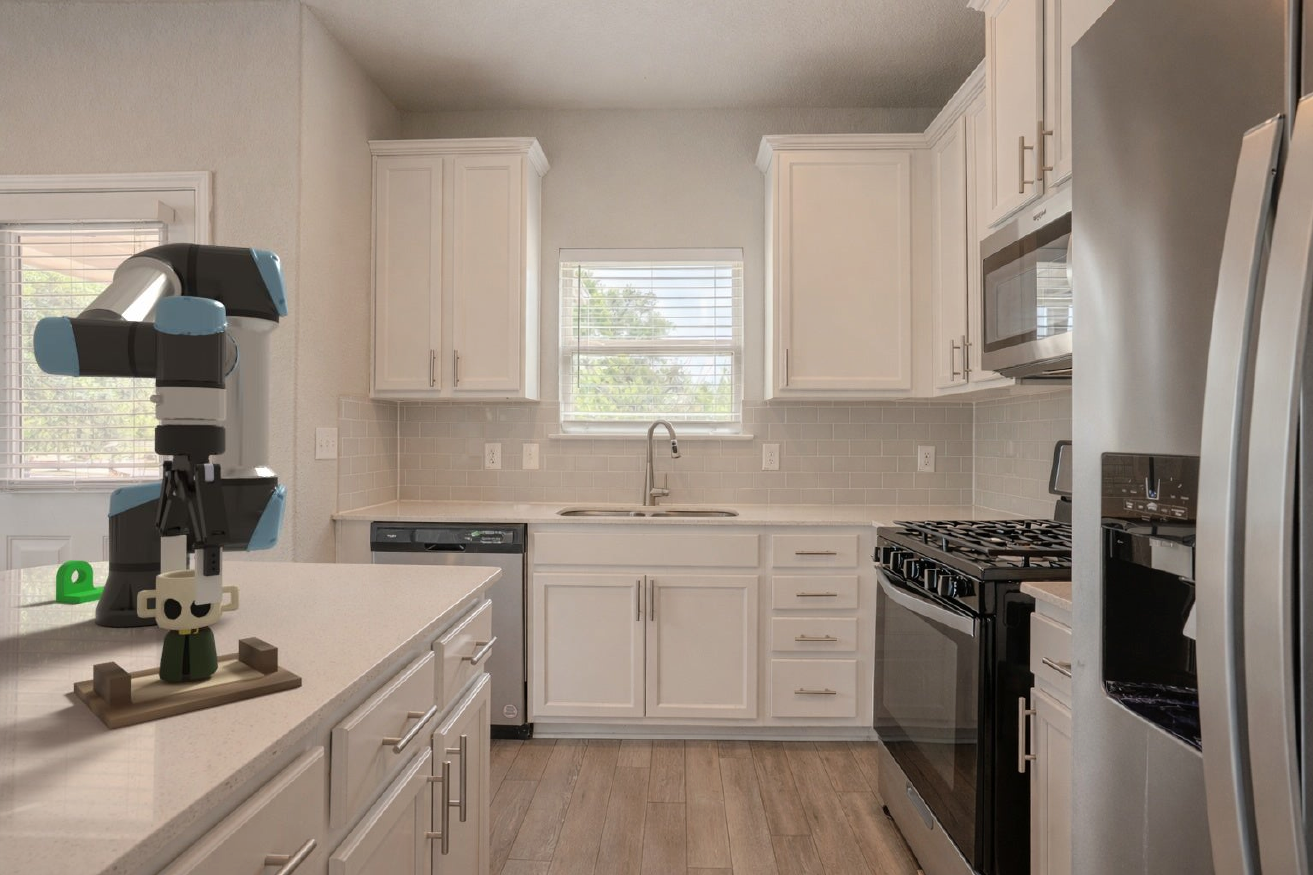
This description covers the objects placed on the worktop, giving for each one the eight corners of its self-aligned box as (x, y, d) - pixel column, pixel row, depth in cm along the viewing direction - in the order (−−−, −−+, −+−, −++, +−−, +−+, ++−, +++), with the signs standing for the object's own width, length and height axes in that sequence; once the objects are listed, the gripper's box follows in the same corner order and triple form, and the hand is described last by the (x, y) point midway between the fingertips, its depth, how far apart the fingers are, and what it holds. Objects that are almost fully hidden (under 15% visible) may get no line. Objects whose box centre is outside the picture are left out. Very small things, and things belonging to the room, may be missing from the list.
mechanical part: (80, 607, 141) (80, 564, 141) (55, 605, 142) (56, 562, 143) (140, 595, 152) (140, 554, 152) (116, 593, 154) (117, 553, 154)
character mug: (130, 692, 90) (131, 581, 90) (141, 675, 96) (142, 571, 96) (237, 680, 94) (237, 574, 94) (240, 665, 101) (241, 566, 101)
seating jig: (73, 690, 94) (73, 658, 94) (248, 657, 108) (248, 629, 108) (110, 729, 82) (110, 691, 82) (301, 685, 96) (302, 653, 96)
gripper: (128, 422, 101) (128, 583, 101) (188, 422, 84) (187, 616, 84) (192, 423, 106) (192, 576, 107) (261, 423, 89) (260, 605, 90)
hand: (190, 594), depth 95 cm, fingers open, 13 cm apart
